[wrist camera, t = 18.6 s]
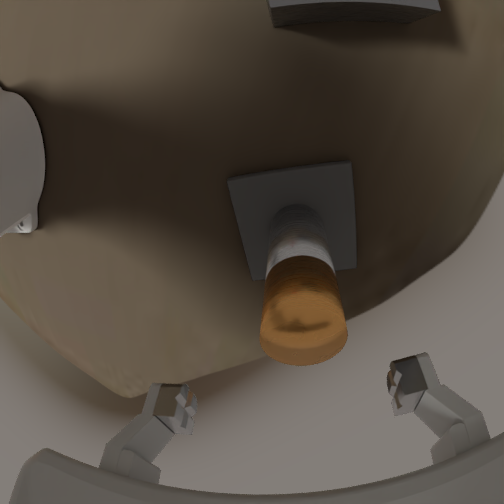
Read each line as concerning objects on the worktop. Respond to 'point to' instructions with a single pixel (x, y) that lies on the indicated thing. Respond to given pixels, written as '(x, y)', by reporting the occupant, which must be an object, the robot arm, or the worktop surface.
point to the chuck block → (349, 10)
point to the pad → (296, 192)
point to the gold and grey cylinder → (301, 291)
